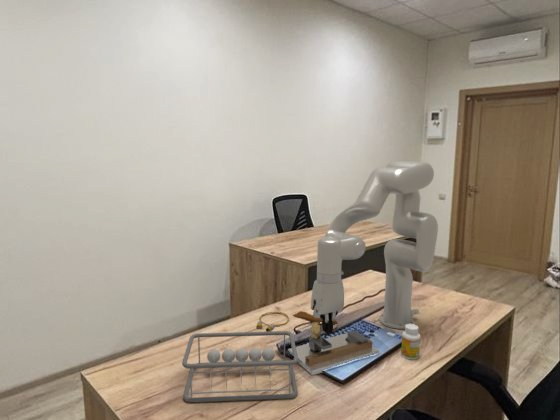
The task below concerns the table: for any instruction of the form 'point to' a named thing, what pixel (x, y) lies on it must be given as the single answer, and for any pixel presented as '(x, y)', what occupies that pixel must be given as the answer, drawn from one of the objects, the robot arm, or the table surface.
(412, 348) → the supplement bottle
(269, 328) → the extension cord
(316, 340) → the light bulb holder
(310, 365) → the bolt plate
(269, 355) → the newton's cradle
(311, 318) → the primitive tool
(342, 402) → the table surface
